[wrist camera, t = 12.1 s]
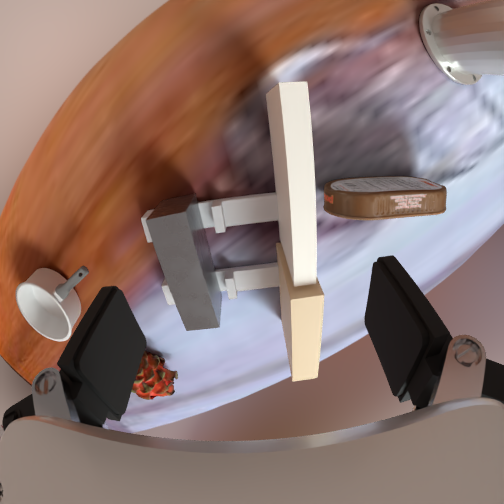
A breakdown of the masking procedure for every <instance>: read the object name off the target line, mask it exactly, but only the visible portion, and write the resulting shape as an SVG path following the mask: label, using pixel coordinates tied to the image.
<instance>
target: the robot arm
mask: <svg viewBox="0 0 504 504" xmlns="http://www.w3.org/2000/svg"><path fill="white" fill-rule="evenodd" d="M419 27H420V33H421V37H422V40H423V43H424V45H425V47H426V49H427V51H428V53H429V55H430V57H431V58H432V60H433V61H434V63H435V64H436V66H437V67H438V68H439V69H440V70H441V71H442V72H443V73H444V74H445V75H446V76H447V77H448V78H450V79H451V80H453V81H454V82H456V83H459V84H463V85H472V84H475V83H476V82H478V81H479V80H480V78H481V77H482V75H502V76H504V0H490V1H485V2H480V3H475V4H471V5H467V6H463V7H459V8H455V9H452V8H451V7H449V6H446V5H444V4H438V3H435V4H431V5H428V6H426V7H425V8H424V9H423V10H422V12H421V14H420V18H419ZM365 326H366V328H367V331H368V333H369V335H370V337H371V340H372V342H373V345H374V347H375V350H376V352H377V354H378V357H379V359H380V362H381V365H382V367H383V370H384V372H385V374H386V377H387V380H388V382H389V385H390V388H391V391H392V393H393V395H394V396H398V398H399V401H400V402H404V401H407V400H410V399H411V401H412V403H413V405H414V407H413V410H412V412H409V413H406V414H403V415H399V416H396V417H392V418H389V419H385V420H381V421H378V422H374V423H370V424H365V425H361V426H357V427H353V428H348V429H343V430H339V431H333V432H328V433H322V434H316V435H309V436H301V437H293V438H283V439H273V440H258V441H195V440H179V439H169V438H159V437H151V436H144V435H137V434H131V433H125V432H120V431H115V430H110V429H108V427H107V424H106V422H105V420H106V417H107V418H108V419H111V420H116V421H120V419H121V416H122V415H123V414H124V413H125V411H126V408H127V404H128V401H129V398H130V394H131V391H132V388H133V384H134V381H135V378H136V375H137V372H138V369H139V366H140V363H141V360H142V357H143V354H144V351H145V348H146V338H145V336H144V334H143V332H142V331H141V329H140V327H139V325H138V323H137V321H136V319H135V317H134V315H133V313H132V311H131V309H130V307H129V304H128V302H127V300H126V298H125V296H124V294H123V292H122V290H120V289H118V287H116V286H109V287H102V288H101V290H100V291H99V293H98V294H97V296H96V297H95V299H94V301H93V302H92V304H91V305H90V307H89V308H88V310H87V312H86V313H85V315H84V317H83V318H82V320H81V322H80V323H79V325H78V327H77V328H76V330H75V332H74V333H73V335H72V337H71V339H70V341H69V342H68V344H67V346H66V348H65V350H64V351H63V353H62V355H61V357H60V359H59V361H58V363H57V365H58V366H59V367H60V368H61V370H60V372H59V371H58V370H57V369H55V368H46V369H44V370H42V371H41V372H39V374H38V375H37V376H36V377H35V379H34V381H33V384H32V394H31V395H29V396H28V397H26V398H24V399H23V400H21V401H20V402H18V403H16V404H15V405H13V406H11V407H10V408H9V409H8V410H6V412H5V413H4V417H3V426H2V425H0V504H504V365H502V364H499V363H497V362H494V361H491V360H489V359H486V352H485V349H484V347H483V346H482V344H481V343H480V342H479V341H478V340H477V339H475V338H474V337H472V336H469V335H459V336H456V337H454V338H452V336H451V335H450V332H449V331H448V329H447V328H446V326H445V325H444V323H443V322H442V320H441V319H440V317H439V316H438V314H437V313H436V312H435V310H434V308H433V307H432V306H431V304H430V303H429V301H428V300H427V298H426V297H425V296H424V294H423V293H422V292H421V290H420V289H419V287H418V286H417V285H416V283H415V282H414V281H413V279H412V278H411V277H410V275H409V274H408V273H407V272H406V270H405V269H404V268H403V266H402V265H401V264H400V263H399V261H398V260H397V259H396V258H395V257H394V256H385V257H379V258H378V259H377V262H374V263H373V267H372V275H371V282H370V288H369V295H368V301H367V307H366V312H365Z"/></svg>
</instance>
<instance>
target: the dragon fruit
mask: <svg viewBox="0 0 504 504" xmlns="http://www.w3.org/2000/svg"><path fill="white" fill-rule="evenodd" d="M164 363H165V360H164V359H163V358H162V357H158V356H157V355H155V356H152V354H151V353H150V352H147V351H144V354H143V357H142V360H141V363H140V366H139V369H138V372H137V375H136V378H135V381H134V384H133V388H132V391H131V392H133V393H136V394H137V395H138V396H139V397H141V398H143V399H147V400H150V399H153V398H154V397H156V396H162V397H163V396H167V395H169V396H170V395H172V394H174V392H175V390H174V386H173V385H172V384H174V382H173V381H174V377H175V379H178V374H177V371H170V370H168V369H164V368H163V367H162V366H163V364H164ZM170 382H171V383H170Z"/></svg>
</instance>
